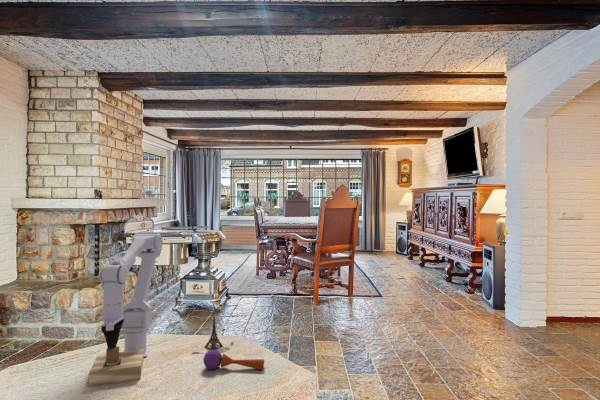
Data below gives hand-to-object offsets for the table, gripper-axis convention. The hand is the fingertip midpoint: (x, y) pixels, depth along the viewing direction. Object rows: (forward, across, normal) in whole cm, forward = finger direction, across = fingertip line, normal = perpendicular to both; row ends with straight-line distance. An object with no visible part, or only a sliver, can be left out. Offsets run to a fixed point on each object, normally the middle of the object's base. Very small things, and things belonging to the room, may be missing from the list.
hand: (112, 345), depth 111 cm
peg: (+9, 0, 0) cm, 9 cm away
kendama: (+10, +8, +37) cm, 39 cm away
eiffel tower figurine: (+10, -11, +32) cm, 36 cm away
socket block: (+9, -2, +2) cm, 10 cm away
